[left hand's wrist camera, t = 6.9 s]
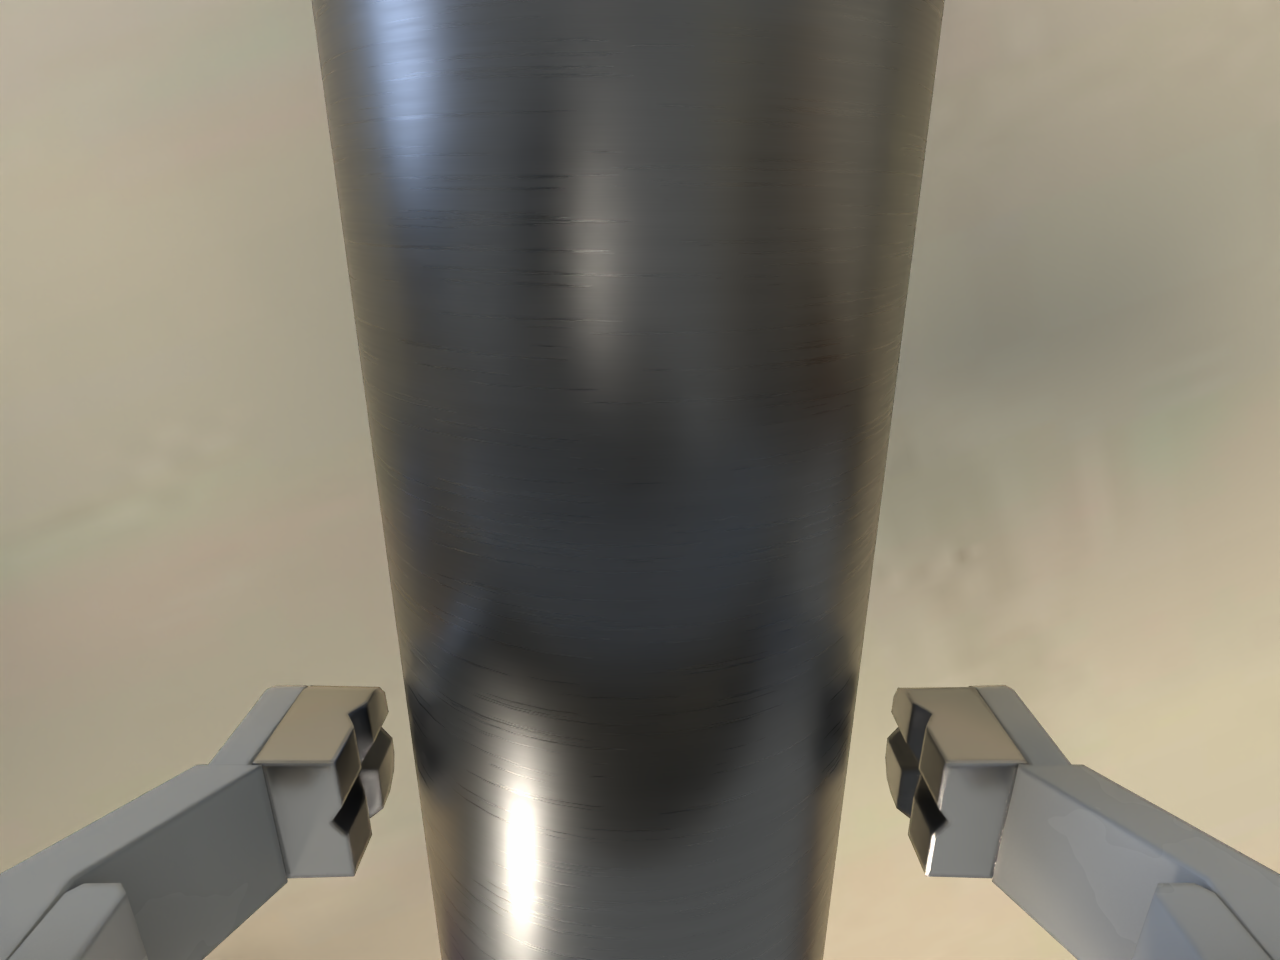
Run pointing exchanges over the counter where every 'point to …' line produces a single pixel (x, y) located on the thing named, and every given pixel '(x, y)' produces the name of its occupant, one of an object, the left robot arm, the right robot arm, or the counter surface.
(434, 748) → the rod
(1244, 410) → the counter surface
